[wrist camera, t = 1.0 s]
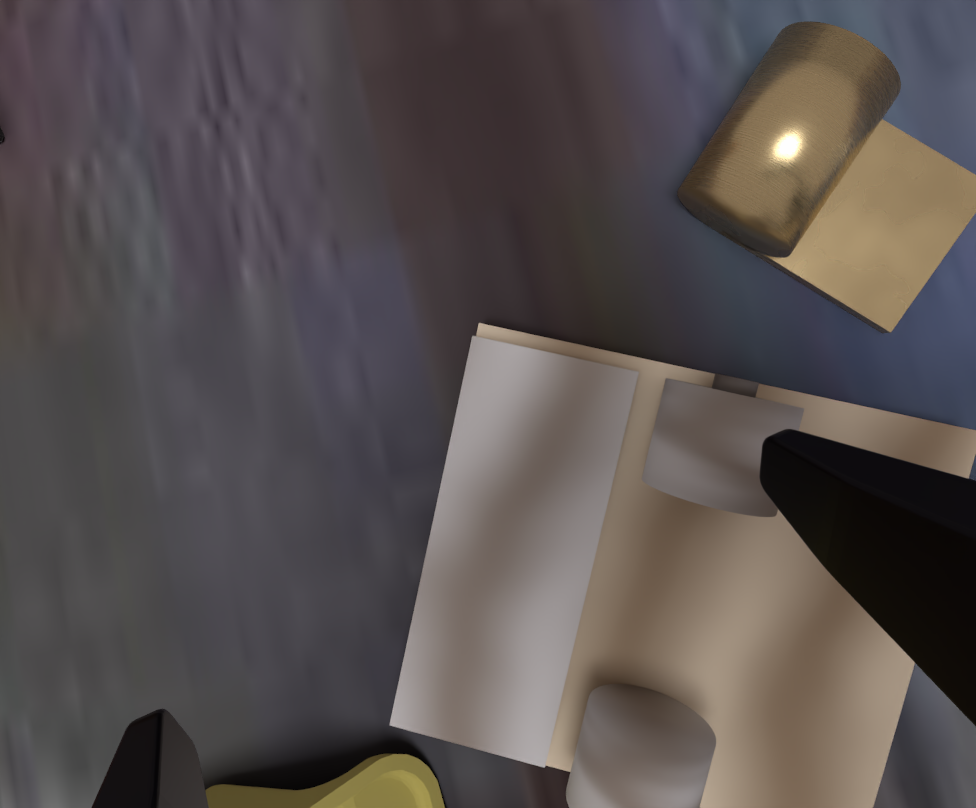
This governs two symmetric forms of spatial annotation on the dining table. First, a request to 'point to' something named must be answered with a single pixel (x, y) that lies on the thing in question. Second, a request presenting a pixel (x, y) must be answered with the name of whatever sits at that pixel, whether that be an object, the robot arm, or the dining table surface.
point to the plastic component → (346, 789)
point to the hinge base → (649, 587)
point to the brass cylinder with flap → (831, 176)
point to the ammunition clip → (1, 135)
